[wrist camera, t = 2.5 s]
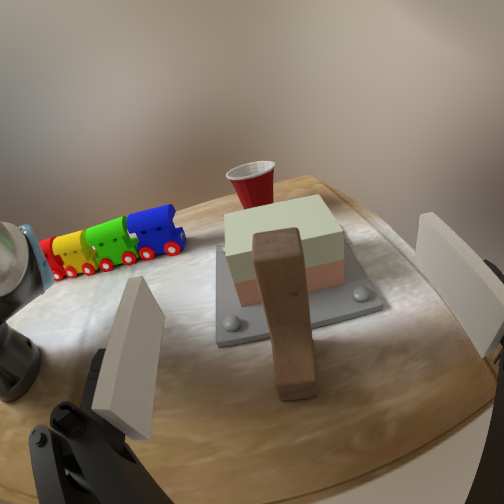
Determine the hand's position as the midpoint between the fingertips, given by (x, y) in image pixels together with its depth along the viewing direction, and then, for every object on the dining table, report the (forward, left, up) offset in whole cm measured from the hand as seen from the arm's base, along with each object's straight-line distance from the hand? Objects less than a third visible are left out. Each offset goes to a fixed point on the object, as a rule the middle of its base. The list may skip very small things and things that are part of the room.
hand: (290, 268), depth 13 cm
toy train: (-39, +45, -25) cm, 65 cm away
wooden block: (0, +10, -25) cm, 26 cm away
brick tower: (+2, +28, -24) cm, 37 cm away
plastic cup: (0, +51, -25) cm, 56 cm away
